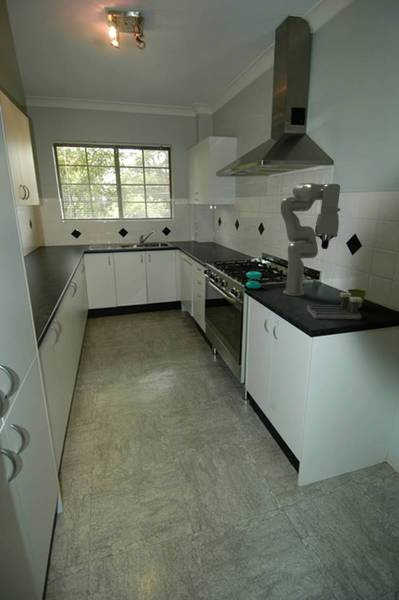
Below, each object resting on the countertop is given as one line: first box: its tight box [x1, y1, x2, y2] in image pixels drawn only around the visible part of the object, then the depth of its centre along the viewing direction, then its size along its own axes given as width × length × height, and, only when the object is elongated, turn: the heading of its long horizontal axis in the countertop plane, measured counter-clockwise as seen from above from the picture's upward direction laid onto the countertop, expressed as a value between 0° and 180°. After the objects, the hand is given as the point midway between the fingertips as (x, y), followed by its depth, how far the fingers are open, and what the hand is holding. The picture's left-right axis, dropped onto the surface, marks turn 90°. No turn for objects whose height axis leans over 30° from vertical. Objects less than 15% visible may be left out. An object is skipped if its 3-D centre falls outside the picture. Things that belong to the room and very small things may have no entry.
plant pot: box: [347, 288, 368, 309], centre depth 171 cm, size 9×9×9 cm
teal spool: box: [245, 271, 263, 290], centre depth 210 cm, size 10×10×10 cm
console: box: [306, 304, 362, 320], centre depth 160 cm, size 14×22×3 cm, turn 88°
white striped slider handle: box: [339, 292, 352, 308], centre depth 162 cm, size 3×4×8 cm
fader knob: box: [350, 297, 362, 313], centre depth 154 cm, size 3×4×8 cm
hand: (324, 248), depth 158 cm, fingers closed
